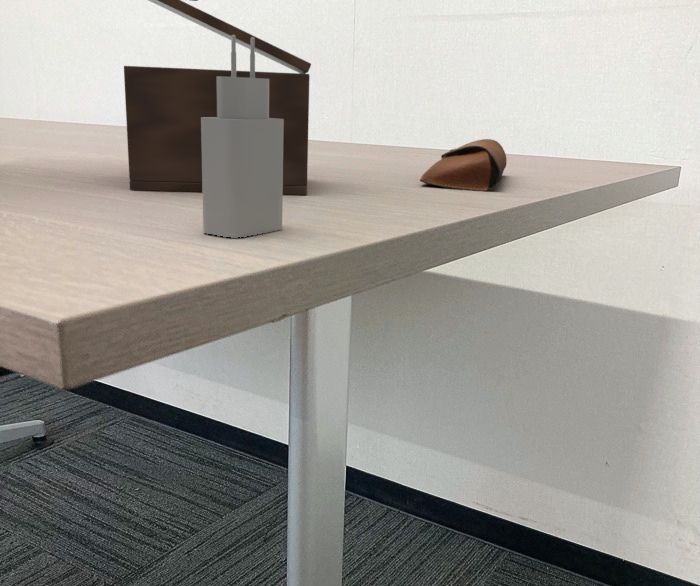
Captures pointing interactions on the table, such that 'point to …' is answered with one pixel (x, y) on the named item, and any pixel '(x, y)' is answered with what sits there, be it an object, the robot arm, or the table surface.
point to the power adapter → (242, 157)
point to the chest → (185, 125)
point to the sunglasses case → (469, 167)
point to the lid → (175, 5)
